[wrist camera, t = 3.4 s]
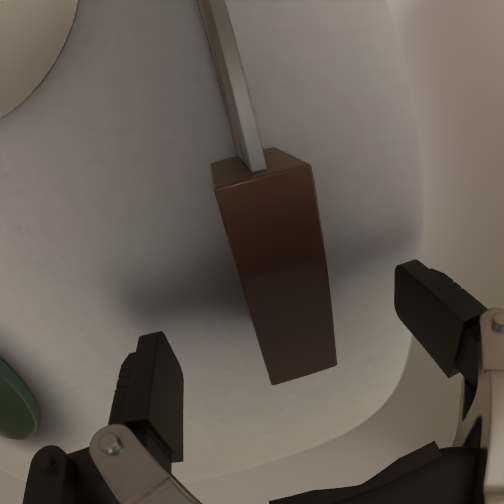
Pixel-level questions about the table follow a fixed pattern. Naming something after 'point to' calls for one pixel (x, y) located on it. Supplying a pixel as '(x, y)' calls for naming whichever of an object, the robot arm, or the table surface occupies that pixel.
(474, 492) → the robot arm
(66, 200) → the table surface
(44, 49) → the cup
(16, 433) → the cake stand
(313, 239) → the knife
